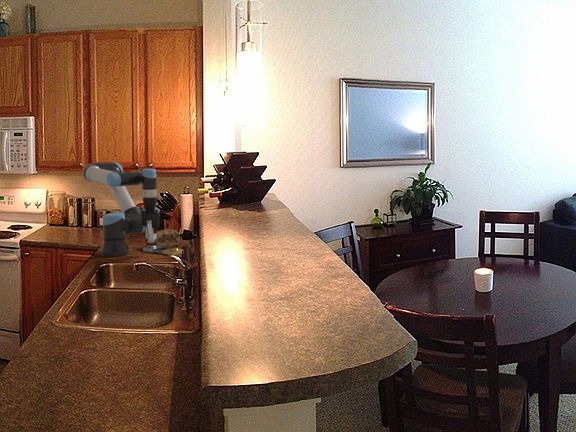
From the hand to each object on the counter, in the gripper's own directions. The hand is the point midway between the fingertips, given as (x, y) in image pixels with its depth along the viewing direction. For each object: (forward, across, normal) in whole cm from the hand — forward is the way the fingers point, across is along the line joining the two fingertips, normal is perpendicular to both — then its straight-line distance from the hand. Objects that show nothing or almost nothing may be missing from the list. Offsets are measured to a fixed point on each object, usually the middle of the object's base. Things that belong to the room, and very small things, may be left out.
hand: (151, 238), depth 303 cm
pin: (+2, 0, 0) cm, 2 cm away
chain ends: (+9, 0, +9) cm, 13 cm away
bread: (+10, -14, +22) cm, 28 cm away
